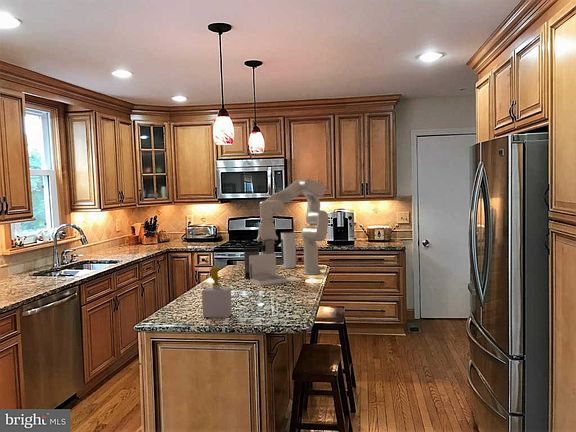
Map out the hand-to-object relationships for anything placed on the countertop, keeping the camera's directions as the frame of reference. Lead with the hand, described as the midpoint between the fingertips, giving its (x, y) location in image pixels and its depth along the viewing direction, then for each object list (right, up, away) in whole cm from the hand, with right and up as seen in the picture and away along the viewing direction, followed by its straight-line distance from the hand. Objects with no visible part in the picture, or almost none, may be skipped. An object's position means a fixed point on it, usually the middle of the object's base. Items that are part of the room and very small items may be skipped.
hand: (267, 250), depth 300 cm
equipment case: (0, -20, +1) cm, 20 cm away
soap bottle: (-20, -25, -73) cm, 79 cm away
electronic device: (-11, -20, +17) cm, 28 cm away
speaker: (+13, -16, +57) cm, 61 cm away
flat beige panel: (+14, -19, +9) cm, 25 cm away
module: (0, -1, 0) cm, 1 cm away
